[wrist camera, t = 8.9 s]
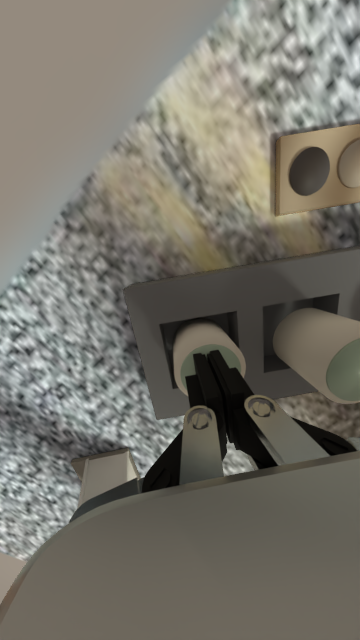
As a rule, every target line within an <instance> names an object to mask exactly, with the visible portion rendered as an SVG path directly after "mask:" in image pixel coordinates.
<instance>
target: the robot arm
mask: <svg viewBox="0 0 360 640" xmlns="http://www.w3.org/2000/svg"><path fill="white" fill-rule="evenodd" d="M193 359H194V366H195V372H196V374H195V375H190V376H185V379H186V386H187V392H188V398H189V404H190V409H189V410H188V411H187V412H186V414H185V416H184V423H183V430H182V431H181V432H180V433H179V434H178V436H177V437H176V438H175V439H174V440H173V442H172V443H171V444H170V445H169V446H168V448H167V449H166V450H165V451H164V452H163V454H162V455H161V456H160V457H159V458H158V460H157V461H156V462H155V463H154V464H153V466H152V467H151V468H150V469H149V471H148V472H147V474H146V475H145V477H144V478H141V479H139V480H138V479H137V478H134V479H132V480H130V481H128V482H126V483H124V484H121V485H119V486H117V487H115V488H113V489H111V490H108V491H106V492H104V493H102V494H100V495H98V496H95V497H93V498H91V499H89V500H87V501H86V502H84V503H83V504H82V505H81V506H80V507H79V508H78V509H77V510H76V511H75V513H74V514H73V516H72V518H71V519H70V521H69V524H67V525H66V526H65V527H63V528H62V529H60V530H59V531H58V532H57V533H55V534H54V535H53V536H52V537H51V538H49V539H48V540H47V541H46V542H45V543H44V544H43V545H42V546H41V547H40V548H39V549H38V550H37V551H36V552H35V553H34V554H33V555H32V557H31V558H30V559H29V561H28V562H27V563H26V565H25V566H24V567H23V569H22V570H21V572H20V573H19V575H18V576H17V578H16V579H15V581H14V582H13V584H12V586H11V587H10V589H9V591H8V592H7V594H6V596H5V597H4V599H3V601H2V603H1V604H0V640H360V438H356V437H348V440H345V439H343V438H341V437H339V436H337V435H335V434H333V433H330V432H328V431H325V430H323V429H320V428H318V427H315V426H313V425H310V424H307V423H305V422H302V421H300V420H297V419H295V418H292V417H290V416H289V415H288V414H287V413H286V412H285V411H284V410H283V409H282V408H281V407H280V406H279V405H278V404H277V403H276V402H275V401H273V400H272V399H270V398H268V397H266V396H262V395H254V393H253V392H252V390H251V389H250V387H249V386H248V384H247V383H246V381H245V380H244V378H243V377H242V375H241V374H240V372H239V371H238V369H237V368H236V367H234V368H229V366H228V365H227V363H226V361H225V360H224V358H223V356H222V355H221V353H220V351H219V350H213V351H210V353H209V354H207V358H206V356H205V354H203V355H202V354H201V353H196V354H193ZM207 359H208V361H207ZM226 434H227V436H228V439H229V442H230V443H234V445H235V448H236V450H241V451H243V452H244V453H246V454H247V457H248V459H249V461H250V463H251V465H252V467H253V468H254V470H255V471H250V472H244V473H239V474H234V475H229V476H224V474H223V467H222V461H223V459H224V457H225V455H226V453H227V448H226V444H227V437H226Z"/></svg>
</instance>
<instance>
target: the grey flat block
mask: <svg viewBox="0 0 360 640" xmlns="http://www.w3.org/2000/svg"><path fill="white" fill-rule="evenodd" d="M123 293H124V296H125V300H126V304H127V308H128V312H129V316H130V319H131V323H132V327H133V331H134V335H135V339H136V342H137V346H138V350H139V354H140V358H141V362H142V366H143V369H144V373H145V377H146V381H147V385H148V389H149V392H150V396H151V400H152V404H153V408H154V412H155V415H156V419H157V420H160V419H165V418H171V417H176V416H182V415H185V414H186V412H187V411H188V410H189V409H190V404H189V398H188V396H187V395H185V394H184V393H183V392H182V391H181V390H180V389H179V387H178V386H177V383H176V381H175V376H174V359H173V338H174V335H175V332H176V331H177V329H178V328H179V327H180V326H181V325H182V324H183V323H185V322H186V321H188V320H191V319H194V318H207V319H210V320H213V321H214V322H216V323H217V324H218V325H219V326H220V327H221V328H222V329H223V330H224V332H225V333H226V334H227V335H228V336H229V338H230V339H231V340H232V341H233V342H234V344H235V345H236V346H237V347H238V348H239V350H240V351H241V352H242V354H243V356H244V359H245V363H246V371H245V375H244V380H245V381H246V383H247V384H248V386H249V387H250V389H251V390H252V392H253V393H254V395H262V396H266V397H268V398H270V399H277V398H283V397H289V396H294V395H300V394H306V393H311V392H317V391H318V390H317V389H316V388H315V387H313V386H312V385H311V384H310V383H309V382H308V381H306V380H305V379H304V378H303V377H302V376H300V375H299V374H298V373H297V372H296V371H294V370H293V369H292V368H291V367H290V366H288V365H287V364H286V363H285V362H284V361H282V360H281V359H280V358H279V357H278V356H277V355H276V353H275V351H274V348H273V336H274V333H275V330H276V328H277V327H278V325H279V324H280V322H281V321H282V320H283V319H284V318H285V317H286V316H288V315H289V314H290V313H292V312H294V311H296V310H299V309H303V308H316V309H319V310H322V311H326V312H329V313H333V314H336V315H339V316H343V317H346V318H349V319H353V320H356V321H360V246H354V247H349V248H343V249H337V250H331V251H325V252H319V253H313V254H307V255H301V256H295V257H290V258H284V259H278V260H272V261H266V262H260V263H254V264H248V265H242V266H236V267H231V268H225V269H219V270H213V271H207V272H201V273H195V274H189V275H183V276H178V277H172V278H166V279H160V280H154V281H148V282H142V283H136V284H132V285H130V286H128V287H126V288H124V289H123Z"/></svg>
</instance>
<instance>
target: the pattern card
mask: <svg viewBox="0 0 360 640" xmlns="http://www.w3.org/2000/svg"><path fill="white" fill-rule="evenodd" d="M359 202H360V124H354V125H348V126H342V127H336V128H330V129H324V130H317V131H311V132H305V133H299V134H293V135H287V136H281V137H280V138H279V139H278V140H277V141H276V212H275V216H281V215H287V214H293V213H299V212H305V211H311V210H317V209H323V208H329V207H335V206H341V205H347V204H353V203H359Z"/></svg>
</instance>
